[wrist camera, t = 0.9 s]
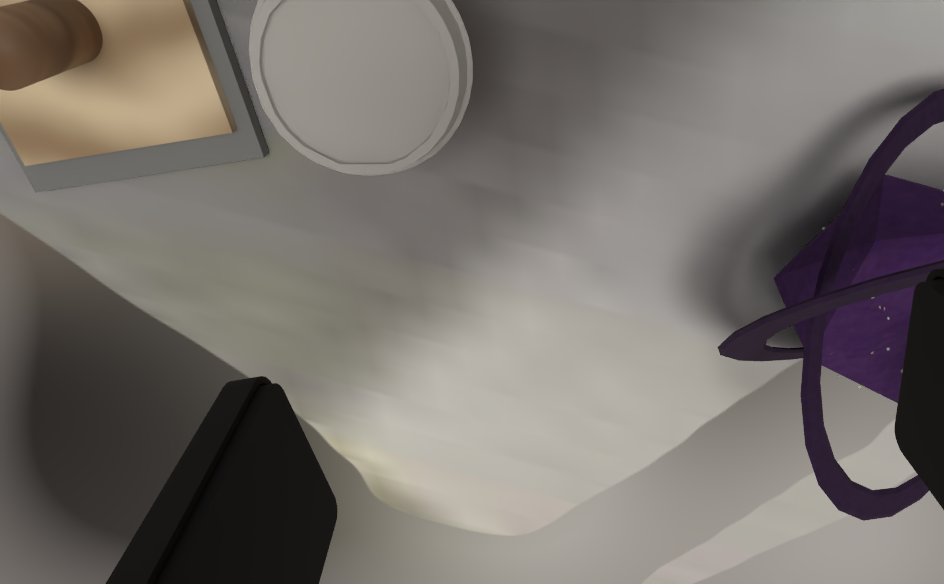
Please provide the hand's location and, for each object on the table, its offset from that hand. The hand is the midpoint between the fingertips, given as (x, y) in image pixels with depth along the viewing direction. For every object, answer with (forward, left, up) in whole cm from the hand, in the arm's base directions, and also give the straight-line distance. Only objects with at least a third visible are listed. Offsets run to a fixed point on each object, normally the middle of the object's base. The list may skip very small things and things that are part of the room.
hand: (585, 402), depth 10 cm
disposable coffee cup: (-2, -7, -31) cm, 32 cm away
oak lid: (-5, -25, -30) cm, 39 cm away
